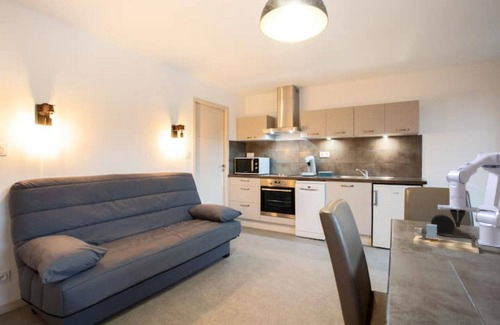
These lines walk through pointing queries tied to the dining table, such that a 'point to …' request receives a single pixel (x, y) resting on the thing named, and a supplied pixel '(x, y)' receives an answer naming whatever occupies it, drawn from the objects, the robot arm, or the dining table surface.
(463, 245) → the cord board
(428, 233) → the light blue block
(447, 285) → the dining table surface
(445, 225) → the black cylinder
